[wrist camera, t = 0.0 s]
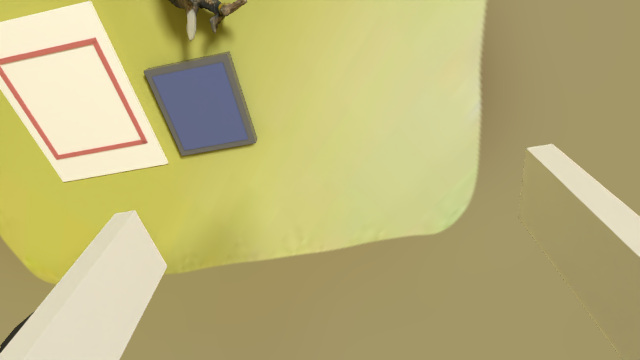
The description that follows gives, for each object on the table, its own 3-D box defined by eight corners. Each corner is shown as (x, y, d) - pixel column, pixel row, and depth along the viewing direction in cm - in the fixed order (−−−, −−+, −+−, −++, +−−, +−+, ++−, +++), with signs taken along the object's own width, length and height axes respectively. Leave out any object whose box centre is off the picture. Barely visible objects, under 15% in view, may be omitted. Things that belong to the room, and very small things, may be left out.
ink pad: (147, 68, 38) (142, 71, 37) (229, 51, 37) (226, 54, 36) (184, 151, 43) (181, 156, 42) (257, 139, 42) (255, 143, 41)
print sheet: (-36, 30, 36) (-41, 31, 36) (90, 0, 34) (88, 1, 34) (64, 180, 45) (62, 182, 45) (168, 162, 44) (167, 164, 43)
